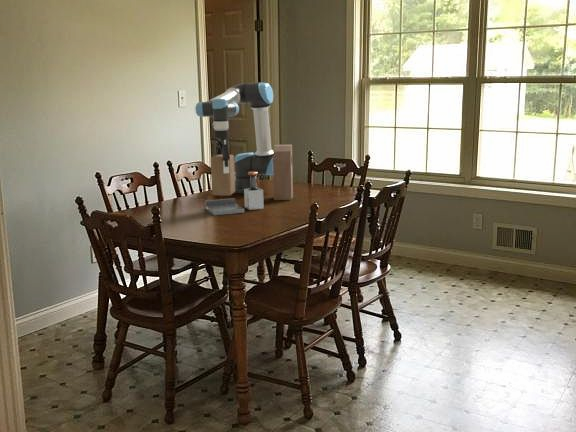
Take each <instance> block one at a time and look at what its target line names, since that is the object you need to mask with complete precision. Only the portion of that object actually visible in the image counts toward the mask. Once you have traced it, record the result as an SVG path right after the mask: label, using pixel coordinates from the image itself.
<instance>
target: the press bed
mask: <svg viewBox="0 0 576 432" xmlns="http://www.w3.org/2000/svg"><path fill="white" fill-rule="evenodd" d="M204 202H205V210H206V211H207V212H209V213H210V214H211V215H212V216H223V215H231V214H233V215H234V214H244V213H245V207H242V206H241V205H239V204H238V203H236V198H231V197H230V198H224V199H223V198H220V199H211V200H210V199H209V200H208V199H207V200H204Z"/></svg>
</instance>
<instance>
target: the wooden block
mask: <svg viewBox="0 0 576 432" xmlns="http://www.w3.org/2000/svg"><path fill="white" fill-rule="evenodd" d="M229 156H230V159H229V173H224V172H223V161H222V159H223V155H215V154H214V155H213V156H211V157H210V172H211V173H210V174H211V175H210V176H211V192H212V193H211V194H212V195H213V196H228V197H229V196H232V195H233V194H235V193H234V192H235V163H234V162H235V156H234V154H229Z"/></svg>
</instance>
